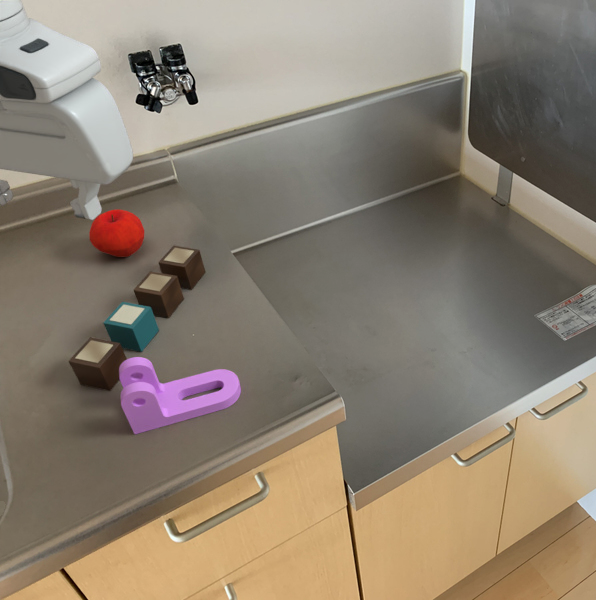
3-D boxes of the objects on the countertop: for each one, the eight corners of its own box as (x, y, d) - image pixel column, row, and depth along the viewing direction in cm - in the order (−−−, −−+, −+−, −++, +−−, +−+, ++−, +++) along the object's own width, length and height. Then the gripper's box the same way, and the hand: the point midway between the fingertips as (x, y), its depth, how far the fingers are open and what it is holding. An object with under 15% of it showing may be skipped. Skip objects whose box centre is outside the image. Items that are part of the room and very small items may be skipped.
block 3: (168, 318, 87) (160, 294, 84) (141, 313, 88) (132, 289, 85) (184, 298, 91) (177, 275, 88) (158, 293, 91) (149, 270, 88)
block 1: (110, 391, 77) (98, 367, 74) (80, 384, 78) (67, 360, 75) (130, 366, 80) (120, 342, 77) (101, 360, 81) (89, 336, 78)
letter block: (141, 352, 82) (132, 328, 79) (113, 346, 83) (102, 322, 80) (159, 330, 86) (150, 306, 83) (131, 324, 86) (122, 300, 83)
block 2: (191, 290, 92) (184, 266, 89) (165, 285, 93) (157, 261, 90) (205, 272, 95) (199, 249, 92) (180, 267, 96) (173, 244, 93)
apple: (94, 270, 96) (78, 231, 91) (102, 241, 101) (87, 203, 97) (147, 264, 97) (134, 225, 92) (152, 235, 103) (140, 198, 98)
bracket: (134, 434, 72) (116, 396, 68) (132, 400, 76) (114, 362, 72) (244, 403, 76) (234, 365, 71) (236, 371, 80) (226, 333, 75)
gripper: (-170, 56, 46) (-77, 210, 56) (61, 83, 42) (121, 244, 52) (-100, 30, 51) (-24, 176, 60) (115, 52, 47) (161, 205, 56)
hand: (45, 208), depth 56 cm, fingers open, 8 cm apart
